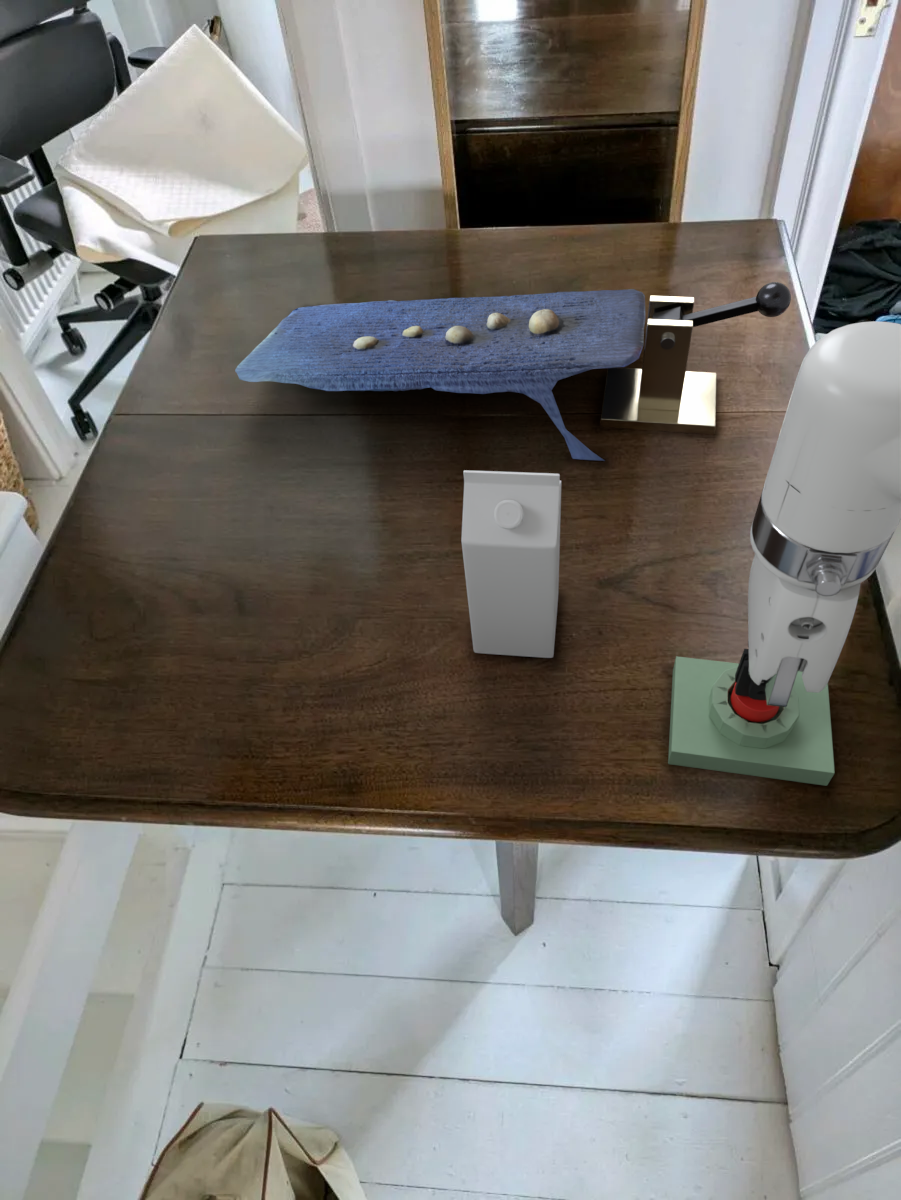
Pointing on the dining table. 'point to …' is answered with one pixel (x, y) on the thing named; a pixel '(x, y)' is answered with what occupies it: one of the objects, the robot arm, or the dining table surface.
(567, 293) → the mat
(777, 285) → the lever switch
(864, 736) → the dining table surface
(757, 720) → the power button
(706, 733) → the green push button box
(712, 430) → the metal lever base
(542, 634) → the milk carton
